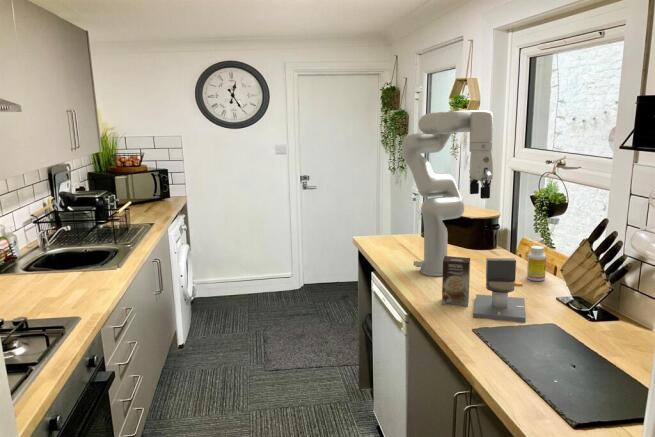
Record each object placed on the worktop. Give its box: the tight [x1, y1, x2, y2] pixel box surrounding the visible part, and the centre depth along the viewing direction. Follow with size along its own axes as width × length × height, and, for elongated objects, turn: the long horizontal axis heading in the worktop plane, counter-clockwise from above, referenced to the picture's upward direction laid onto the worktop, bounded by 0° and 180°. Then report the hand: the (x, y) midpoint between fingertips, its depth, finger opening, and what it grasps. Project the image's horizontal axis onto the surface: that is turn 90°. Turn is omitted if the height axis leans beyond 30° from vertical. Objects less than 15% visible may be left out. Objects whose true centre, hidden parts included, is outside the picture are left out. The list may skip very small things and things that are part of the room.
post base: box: [472, 291, 527, 323], centre depth 173 cm, size 16×18×7 cm
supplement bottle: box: [526, 245, 547, 282], centre depth 202 cm, size 7×7×13 cm
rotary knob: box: [485, 257, 524, 294], centre depth 171 cm, size 12×9×10 cm
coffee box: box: [441, 255, 471, 308], centre depth 180 cm, size 9×6×16 cm
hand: (479, 196), depth 182 cm, fingers open, 9 cm apart
